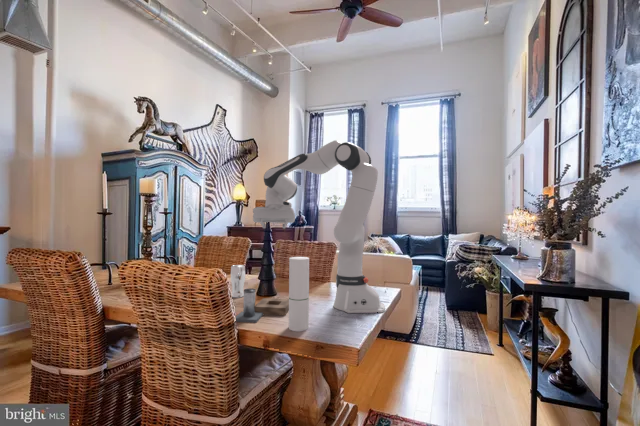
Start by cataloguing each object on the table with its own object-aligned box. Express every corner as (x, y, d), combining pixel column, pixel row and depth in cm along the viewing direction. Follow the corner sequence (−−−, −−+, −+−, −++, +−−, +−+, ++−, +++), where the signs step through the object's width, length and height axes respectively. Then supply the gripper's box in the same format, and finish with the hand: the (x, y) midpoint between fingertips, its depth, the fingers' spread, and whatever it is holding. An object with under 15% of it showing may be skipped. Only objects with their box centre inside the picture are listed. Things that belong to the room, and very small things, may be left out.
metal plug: (256, 313, 123) (256, 288, 123) (252, 317, 119) (253, 291, 119) (245, 313, 124) (246, 288, 124) (241, 316, 119) (242, 290, 119)
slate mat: (263, 314, 125) (263, 312, 125) (256, 322, 116) (256, 319, 116) (241, 313, 126) (241, 311, 126) (233, 321, 117) (233, 318, 117)
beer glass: (227, 297, 151) (227, 266, 151) (236, 293, 158) (236, 264, 158) (239, 298, 149) (239, 267, 149) (247, 295, 155) (248, 265, 155)
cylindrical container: (309, 324, 115) (310, 256, 115) (307, 331, 108) (307, 259, 108) (290, 323, 116) (291, 256, 116) (286, 330, 108) (287, 259, 109)
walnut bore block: (291, 306, 138) (291, 299, 138) (285, 315, 125) (285, 308, 125) (263, 304, 139) (263, 298, 139) (254, 314, 126) (254, 306, 126)
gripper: (252, 202, 153) (251, 222, 143) (294, 203, 156) (295, 223, 146) (253, 211, 157) (251, 231, 147) (293, 212, 160) (295, 232, 151)
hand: (274, 227), depth 147 cm, fingers open, 8 cm apart
